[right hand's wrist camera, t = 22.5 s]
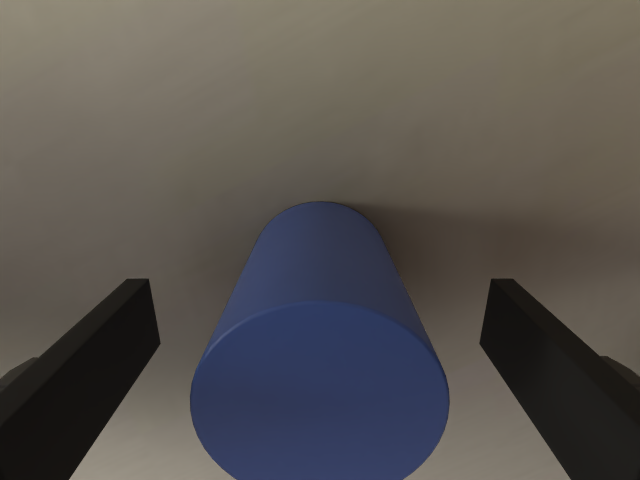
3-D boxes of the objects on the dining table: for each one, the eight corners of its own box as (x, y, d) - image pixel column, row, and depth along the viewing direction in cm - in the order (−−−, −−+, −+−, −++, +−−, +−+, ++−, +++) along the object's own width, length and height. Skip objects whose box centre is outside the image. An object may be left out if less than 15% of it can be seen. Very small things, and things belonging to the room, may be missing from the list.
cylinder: (249, 198, 16) (174, 296, 8) (394, 203, 16) (472, 306, 8) (254, 322, 18) (200, 502, 10) (380, 326, 18) (431, 507, 10)
